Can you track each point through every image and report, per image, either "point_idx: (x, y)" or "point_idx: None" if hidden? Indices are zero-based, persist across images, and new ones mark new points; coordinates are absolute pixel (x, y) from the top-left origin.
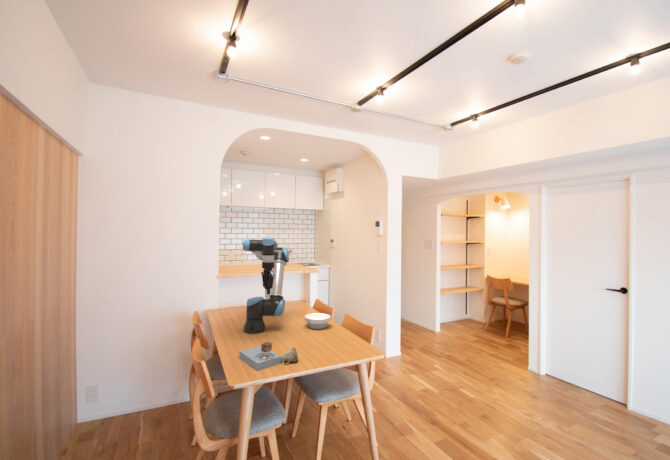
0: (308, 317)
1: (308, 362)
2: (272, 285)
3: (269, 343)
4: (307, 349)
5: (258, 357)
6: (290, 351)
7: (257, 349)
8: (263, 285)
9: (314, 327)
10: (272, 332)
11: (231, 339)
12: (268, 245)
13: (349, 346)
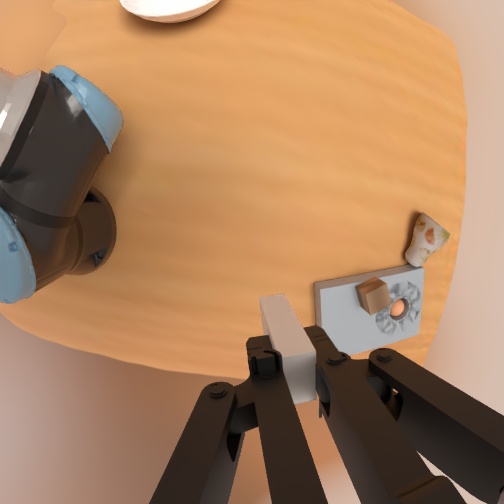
0: (130, 4)
1: (443, 199)
2: (420, 367)
3: (385, 291)
4: (376, 143)
5: (394, 325)
6: (441, 245)
7: (343, 313)
8: (228, 441)
9: (200, 14)
10: (133, 170)
11: (144, 334)
12: None
13: (402, 41)
